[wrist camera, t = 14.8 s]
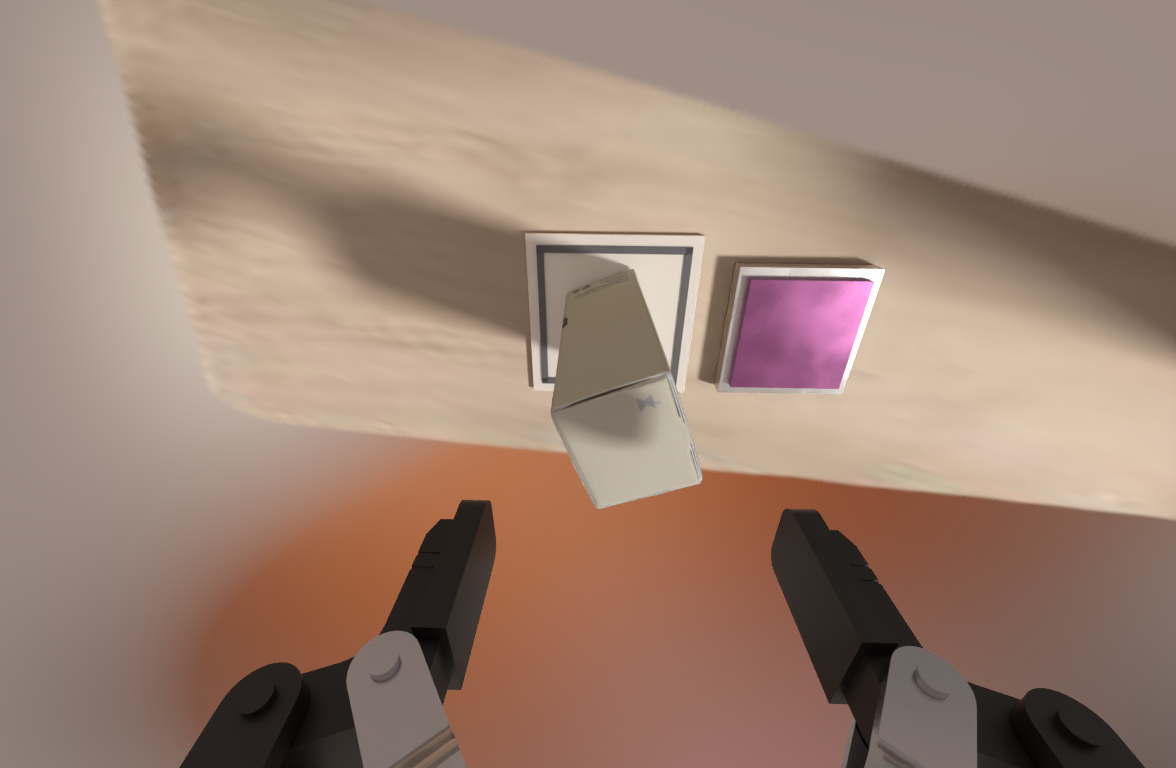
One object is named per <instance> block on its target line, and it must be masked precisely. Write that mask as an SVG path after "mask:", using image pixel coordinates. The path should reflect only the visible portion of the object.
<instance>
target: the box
mask: <svg viewBox="0 0 1176 768" xmlns="http://www.w3.org/2000/svg"><path fill="white" fill-rule="evenodd" d="M551 416H552V419H553V421H554V424H555V426H556V429H557V431H558V433H559V435H560V437H561V440H562V442H563V444H564V446H565V448H566V450H567V452H568V455H569V457H570V459H571V461H572V463H573V465H574V467H575V469H576V471H577V473H578V475H579V477H580V479H581V481H582V483H583V485H584V487H585V489H586V491H587V493H588V494H589V496H590V498H591V499H592V501H593V503H594V505H595V507H597V508H599V509H601V508H605V507H608V506H612V505H616V504H620V503H624V502H628V501H633V500H637V499H641V498H645V497H649V496H653V495H658V494H661V493H665V492H669V491H673V490H677V489H681V488H685V487H688V486H692V485H696V484H699V483H701V481H702V472H701V469H700V464H699V461H698V457H697V453H696V449H695V446H694V442H693V439H692V435H691V432H690V429H689V426H688V422H687V419H686V416H685V413H684V409H683V406H682V403H681V400H680V397H679V394H678V390H677V387H676V384H675V381H674V378H673V375H672V373H671V370H670V367H669V364H668V361H667V358H666V355H665V352H664V350H663V347H662V344H661V341H660V339H659V336H658V333H657V330H656V328H655V325H654V322H653V319H652V317H651V314H650V311H649V309H648V306H647V303H646V301H645V298H644V295H643V293H642V290H641V287H640V285H639V282H638V278H637V276H636V273H635V271H634V269H629V270H626V271H624V272H621V273H618V274H615V275H612V276H609V277H606V278H604V279H601V280H598V281H596V282H593V283H590V284H588V285H585V286H582V287H580V288H577V289H575V290H572V291H570V292H568V293H567V295H566V301H565V309H564V316H563V325H562V332H561V339H560V347H559V355H558V362H557V370H556V377H555V385H554V392H553V399H552V407H551Z"/></svg>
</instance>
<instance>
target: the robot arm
mask: <svg viewBox="0 0 1176 768" xmlns="http://www.w3.org/2000/svg"><path fill="white" fill-rule="evenodd" d="M495 553H496V536H495V529H494V521H493V513H492V506H491V502H490V501H488V500H487V501H486V500H462V501H461V503H460V504H459V507H458V509H457V512H456V515H455V517H454V519H453V520H452V519H441V520H440V521H439V522H438V523H437V524H436V525H435V526H434V527H433V528H432V529H431V530H430V531H429V532H428V533H427V534H426V536H425V538H424V540H423V543H422V545H421V547H420V549H419V551H418V555H417V556H416V558H415V560H414V562H413V565H412V569H411V570H410V571H409V573H408V576H407V578H406V580H405V582H404V584H403V587H402V589H401V591H400V593H399V595H398V598H397V600H396V602H395V604H394V606H393V609H392V611H391V613H390V615H389V617H388V620H387V622H386V624H385V626H384V628H383V630H382V631H381V633H380V634H379V636H377V637H375V638H374V639H372V640H371V641H369V642H368V643H367V644H365V645H364V646H363V647H362V648H361V649H360V650H359V652H358V653H357V654H356V656H354V657H352V658H350V659H348V660H346V661H343V662H341V663H337V664H334V665H331V666H327V667H324V668H320V669H317V670H314V671H310V672H307V673H304V674H300V671H299V670H298V669H297V668H296V667H295V666H294V665H292V664H289V663H282V662H281V663H273V664H269V665H266V666H264V667H262V668H259V669H257V670H255V671H253V672H252V673H250V674H249V675H247V676H246V677H244V678H243V679H242V680H241V681H239V682H238V683H237V684H236V685H235V686H234V687H233V688H232V689H231V690H230V691H229V692H228V694H227V695H226V696H225V698H224V699H223V700H222V702H221V703H220V705H219V706H218V708H217V709H216V711H215V712H214V714H213V716H212V717H211V719H210V720H209V722H208V724H207V725H206V727H205V728H204V730H203V731H202V733H201V735H200V736H199V738H198V739H197V741H196V742H195V744H194V746H193V747H192V749H191V750H190V752H189V754H188V755H187V757H186V758H185V760H184V761H183V763H182V765H181V766H180V768H467V767H466V765H465V762H464V759H463V756H462V754H461V751H460V748H459V746H458V744H457V741H456V738H455V736H454V734H453V733H452V730H451V728H450V725H449V722H448V720H447V717H446V714H445V712H444V709H443V703H444V699H445V696H446V692H447V689H449V690H461V688H462V684H463V681H464V677H465V673H466V669H467V665H468V661H469V657H470V654H471V649H472V646H473V642H474V638H475V634H476V630H477V626H478V623H479V619H480V615H481V610H482V607H483V603H484V599H485V595H486V591H487V587H488V583H489V580H490V576H491V572H492V568H493V564H494V560H495ZM771 560H772V566H773V569H774V572H775V575H776V577H777V579H778V582H779V584H780V587H781V589H782V591H783V594H784V596H785V599H786V601H787V603H788V606H789V608H790V611H791V613H792V615H793V617H794V620H795V623H796V625H797V627H798V630H799V632H800V634H801V637H802V639H803V642H804V644H805V647H806V649H807V651H808V654H809V656H810V658H811V661H812V663H813V666H814V668H815V671H816V673H817V675H818V678H819V680H820V683H821V685H822V687H823V690H824V692H825V695H826V697H827V699H828V702H829V704H848V705H849V707H850V709H851V712H852V714H853V716H854V718H853V720H852V722H851V725H850V729H849V734H848V739H847V743H846V748H845V753H844V757H843V762H842V766H841V768H1145V767H1144V766H1143V765H1142V764H1141V762H1140V761H1139V760H1138V759H1137V758H1136V756H1135V755H1134V754H1133V753H1132V752H1131V750H1130V749H1129V748H1128V747H1127V746H1126V745H1125V743H1124V742H1123V741H1122V740H1121V739H1120V737H1119V736H1118V735H1117V734H1116V733H1115V732H1114V731H1113V729H1112V728H1111V727H1110V726H1109V725H1108V724H1107V723H1106V722H1104V720H1102V719H1101V718H1100V717H1099V716H1098V715H1097V714H1095V713H1094V712H1093V711H1091V710H1090V709H1089V708H1087V707H1086V706H1084V705H1083V704H1081V703H1079V702H1078V701H1076V700H1074V699H1073V698H1070V697H1069V696H1067V695H1064V694H1062V693H1060V692H1057V691H1053V690H1050V689H1045V688H1036V689H1032V690H1030V691H1029V692H1027V694H1026V695H1025V696H1024V697H1023V698H1022V699H1021V700H1020V699H1017V698H1014V697H1011V696H1008V695H1004V694H1002V693H999V692H996V691H993V690H989V689H987V688H984V687H981V686H978V685H975V684H972V683H969V682H967V681H966V680H965V679H964V678H963V676H962V675H961V674H960V673H959V672H958V671H957V670H956V669H955V668H954V667H953V666H952V665H951V664H949V663H948V662H947V661H945V660H944V659H943V658H941V657H939V656H938V655H936V654H934V653H932V652H930V651H928V650H926V649H923V647H922V646H921V644H920V643H919V642H918V640H917V639H916V637H915V636H914V634H913V633H912V631H911V629H910V628H909V626H908V625H907V623H906V622H905V620H904V619H903V617H902V616H901V614H900V613H899V611H898V609H897V608H896V606H895V605H894V603H893V602H892V600H891V599H890V597H889V596H888V594H887V593H886V591H885V590H884V588H883V586H882V585H881V584H879V583H878V579H877V577H876V576H875V574H874V573H873V571H872V570H871V569H869V567H868V563H867V562H866V560H865V559H864V557H863V556H862V554H861V553H860V551H859V550H858V548H857V547H856V546H855V545H854V544H853V543H852V542H851V541H850V540H849V539H847V538H846V537H845V536H844V535H843V534H842V533H840V532H839V531H838V530H829V528H828V526H827V525H826V523H825V522H824V520H823V518H822V517H821V515H820V514H819V513H818V511H816V510H813V509H785V510H784V511H783V513H782V516H781V519H780V522H779V525H778V529H777V532H776V535H775V538H774V541H773V545H772V549H771Z"/></svg>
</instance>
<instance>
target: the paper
mask: <svg viewBox="0 0 1176 768" xmlns="http://www.w3.org/2000/svg"><path fill="white" fill-rule="evenodd" d="M525 242H526V260H527V277H528V295H529V313H530V330H531V348H532V366H533V383H534V390H537V391H554V385H555V377H556V370H557V362H558V355H559V347H560V339H561V332H562V325H563V316H564V309H565V301H566V295H567V293H568V292H570V291H572V290H575V289H577V288H580V287H582V286H585V285H588V284H590V283H593V282H596V281H598V280H601V279H604V278H606V277H609V276H612V275H615V274H618V273H621V272H624V271H626V270H629V269H634V271H635V273H636V276H637V278H638V282H639V285H640V287H641V290H642V293H643V295H644V298H645V301H646V303H647V306H648V309H649V311H650V314H651V317H652V319H653V322H654V325H655V328H656V330H657V333H658V336H659V339H660V341H661V344H662V347H663V350H664V352H665V355H666V358H667V361H668V364H669V367H670V370H671V373H672V375H673V378H674V381H675V384H676V387H677V390H678V393H684V389H685V382H686V374H687V367H688V360H689V352H690V345H691V338H692V331H693V323H694V316H695V309H696V301H697V294H698V287H699V280H700V272H701V265H702V258H703V250H704V243H705V235H652V234H582V233H525Z"/></svg>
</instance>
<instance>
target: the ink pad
mask: <svg viewBox="0 0 1176 768" xmlns="http://www.w3.org/2000/svg"><path fill="white" fill-rule="evenodd" d="M884 271H885V269H883V268H881V267H878V266H876V265H842V264H774V263H735V268H734V273H733V279H732V285H731V290H730V296H729V302H728V308H727V313H726V319H725V325H724V331H723V336H722V342H721V348H720V354H719V359H718V365H717V371H716V376H715V382H714V386H715V387H716V389H717V391H718V392H740V393H801V394H843V391H844V388H845V385H846V382H847V379H848V376H849V373H850V370H851V367H852V364H853V361H854V358H855V356H856V353H857V350H858V347H859V344H860V341H861V338H862V335H863V332H864V329H865V326H866V323H867V321H868V318H869V315H870V312H871V309H872V306H873V303H874V300H875V297H876V294H877V291H878V288H879V286H880V283H881V280H882V277H883V274H884Z"/></svg>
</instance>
